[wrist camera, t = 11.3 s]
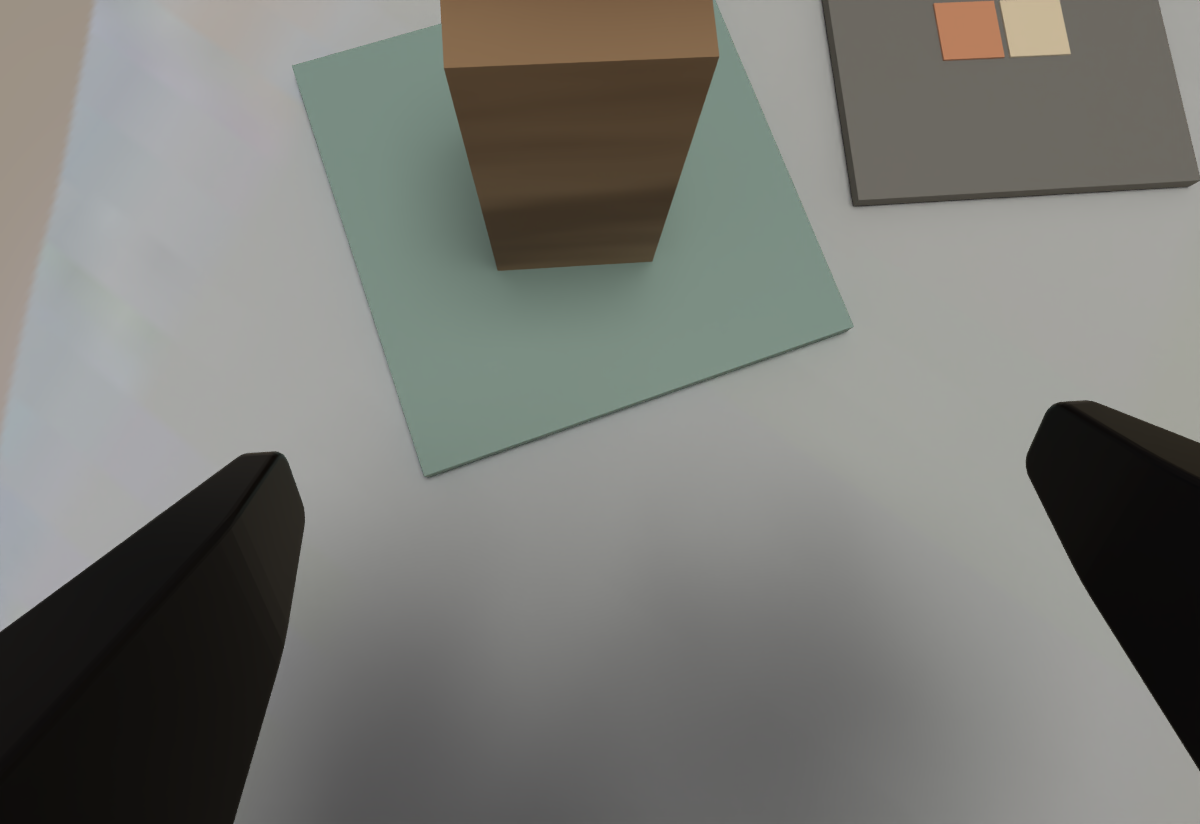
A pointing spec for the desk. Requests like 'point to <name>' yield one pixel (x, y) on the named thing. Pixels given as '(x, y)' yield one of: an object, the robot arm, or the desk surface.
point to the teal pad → (562, 294)
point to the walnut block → (577, 120)
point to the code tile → (1006, 98)
